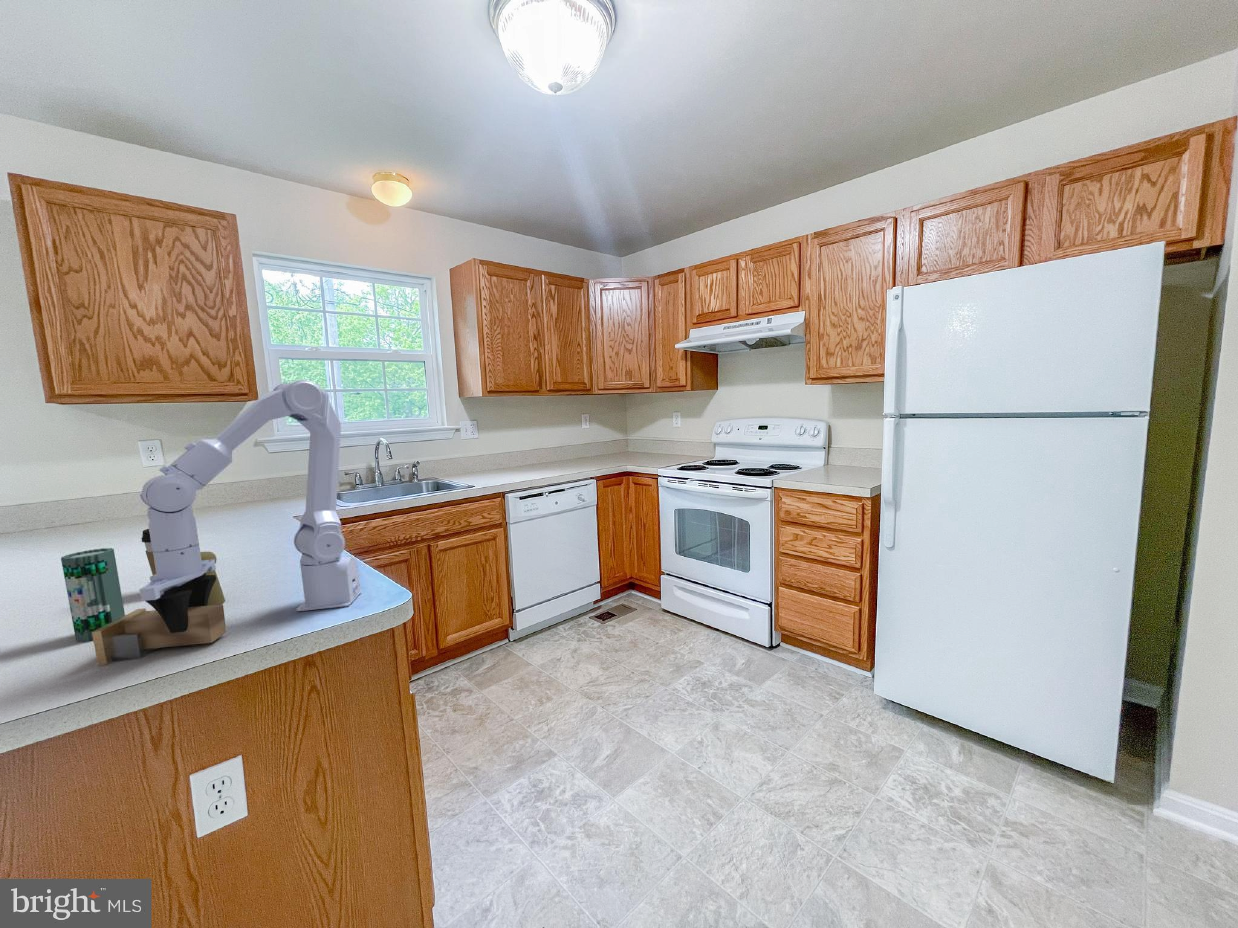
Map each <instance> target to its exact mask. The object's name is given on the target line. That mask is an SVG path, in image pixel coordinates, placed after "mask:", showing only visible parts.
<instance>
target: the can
mask: <svg viewBox="0 0 1238 928" xmlns="http://www.w3.org/2000/svg"><path fill="white" fill-rule="evenodd" d="M116 560H117V559H116V555H115V550H114V548H112V547H108V548H107V547H106V548H105V547H103V548H97V549H96V548H95V549H89V550H83V551H77V552H74V553H73V552H72V553H69V554H66V555H64V556H61V558H60V561H61V566H62V572H63V573H62V574H63V577H64V583H65V587H66V595H67V599H68V605H69V609H70V615H71V620H72V626H73V627H72V628H73V631H74V636H75V641H77V642H83V643H84V642H90V641H93V635H92V632H93V631H95V630H97V629H99V628H101V627H103V626H105V625H107V624H109V623H111V622H113V621H115V620H117V619H119V618H121V617H123V616H125V615H126V612H125V607H124V602H123V601H124V600H123V596H122V590H121V584H120V579H119V571H118V566H117V561H116Z"/></svg>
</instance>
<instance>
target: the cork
mask: <svg viewBox="0 0 1238 928" xmlns="http://www.w3.org/2000/svg"><path fill="white" fill-rule="evenodd" d="M200 553H201V560H202V561H203V560H215V565H217V556H216V554H215V553H214V552H212V551H200ZM206 575H216V581H215V583H214V585H213V587H212V589H211V592H210V595H209V599H208V604H207V606H211V605H224V603H225V602H226V599H225V596H224V592H223V589H222V586H221V583H220V580H219V577H218V575H217V571H216V570H214V571H211V572H207V573H206Z"/></svg>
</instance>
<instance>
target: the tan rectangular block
mask: <svg viewBox="0 0 1238 928" xmlns="http://www.w3.org/2000/svg"><path fill="white" fill-rule="evenodd" d="M224 609H225V608H224V604H221V605H211V606H199V607H188V627H187V630H186V631H185V632H178V633H171V632H170V631H169V629H168V627H167V625H166V624H165V622H164V620H163V619H162V617H161V616H160V614H159V613H158V612H157V611H156V610H155V609H153V610H146V611H143V612H141V613H139V614H137V615H135V616H133V617H131V618H129V619H127V620H125V621H124V625H125V631H126V634H129V633H138V632H141V638H142V644H143V649H151V648H156V649H161V648H168V647H169V648H171V647H180V646H189V645H190V646H191V645H200V644H210V643H211V644H212V643H213V642H215V641H216V640H217V639H219V638H221V636H223V635H225V634H226V633H227V625H226V618H225V610H224Z"/></svg>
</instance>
